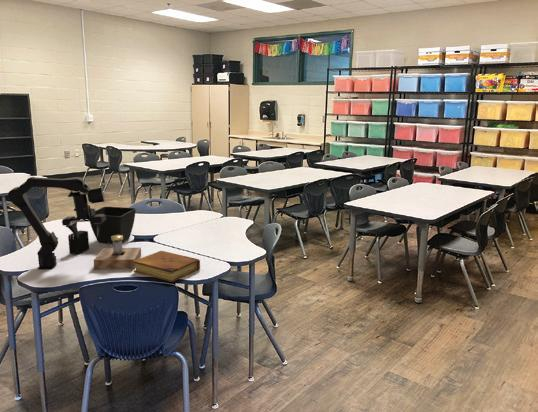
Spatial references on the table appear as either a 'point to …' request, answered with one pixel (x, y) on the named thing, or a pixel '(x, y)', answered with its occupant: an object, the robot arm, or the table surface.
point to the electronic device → (78, 242)
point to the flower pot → (115, 223)
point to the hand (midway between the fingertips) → (87, 237)
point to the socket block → (117, 259)
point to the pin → (117, 244)
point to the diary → (166, 265)
